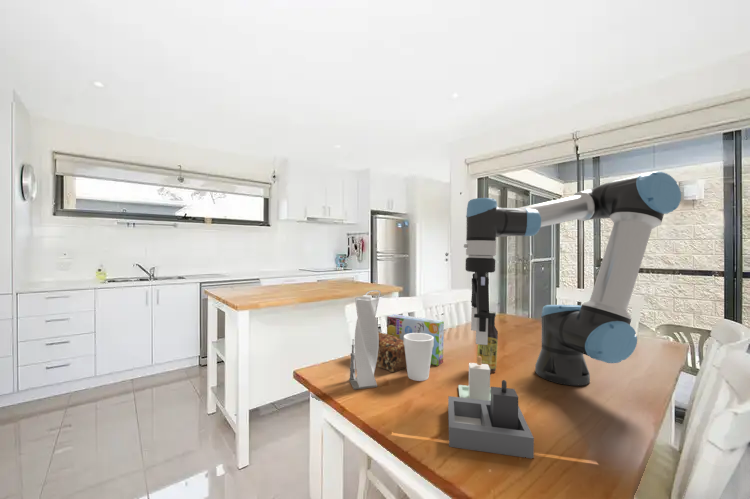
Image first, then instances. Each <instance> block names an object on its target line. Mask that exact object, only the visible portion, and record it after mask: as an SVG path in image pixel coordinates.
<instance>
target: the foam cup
mask: <svg viewBox="0 0 750 499" xmlns="http://www.w3.org/2000/svg"><path fill="white" fill-rule="evenodd" d="M433 346H434V337H433V336H431V335H429V334H424V333H409V334H406V335H404V347H405V356H406V365H407V368H406V371H407V372H406V373H407V377H408V379H410V380H413V381H418V382H424V381H427V380H428V379H429V376H430V370H431V364H430V363H431V356H432V349H433Z"/></svg>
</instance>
